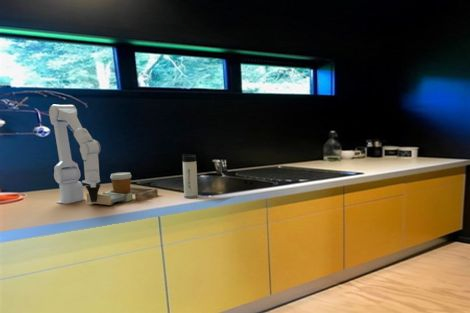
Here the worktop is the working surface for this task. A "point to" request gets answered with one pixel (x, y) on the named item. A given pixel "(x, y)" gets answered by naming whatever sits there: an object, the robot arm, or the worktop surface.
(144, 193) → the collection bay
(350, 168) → the worktop surface
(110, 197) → the beige grey flat-sided piece
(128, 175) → the disposable coffee cup
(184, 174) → the travel mug
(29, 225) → the worktop surface
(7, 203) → the worktop surface
